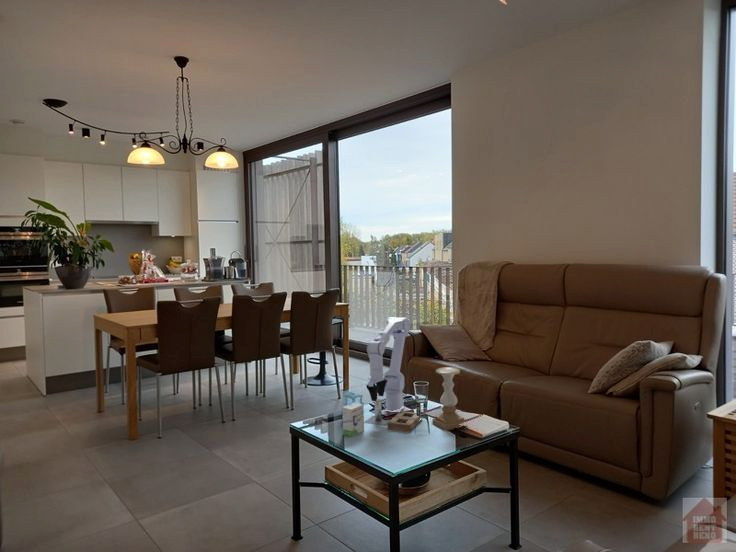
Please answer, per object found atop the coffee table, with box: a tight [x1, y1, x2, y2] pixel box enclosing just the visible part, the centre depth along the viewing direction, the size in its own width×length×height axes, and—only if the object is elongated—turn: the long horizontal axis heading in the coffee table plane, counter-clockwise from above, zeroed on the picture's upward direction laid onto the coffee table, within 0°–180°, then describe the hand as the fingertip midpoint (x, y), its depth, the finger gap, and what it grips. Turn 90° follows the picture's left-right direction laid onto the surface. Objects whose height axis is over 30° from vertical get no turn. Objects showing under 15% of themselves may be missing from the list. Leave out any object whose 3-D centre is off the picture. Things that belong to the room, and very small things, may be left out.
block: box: [386, 410, 420, 433], centre depth 230 cm, size 16×10×3 cm, turn 156°
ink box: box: [342, 403, 365, 438], centre depth 222 cm, size 9×5×12 cm, turn 143°
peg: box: [373, 398, 383, 421], centre depth 236 cm, size 3×3×9 cm
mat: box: [364, 415, 390, 426], centre depth 236 cm, size 10×10×1 cm
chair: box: [341, 391, 365, 419], centre depth 241 cm, size 8×8×12 cm
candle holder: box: [432, 366, 467, 431], centre depth 227 cm, size 11×11×24 cm
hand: (377, 398), depth 236 cm, fingers open, 7 cm apart
